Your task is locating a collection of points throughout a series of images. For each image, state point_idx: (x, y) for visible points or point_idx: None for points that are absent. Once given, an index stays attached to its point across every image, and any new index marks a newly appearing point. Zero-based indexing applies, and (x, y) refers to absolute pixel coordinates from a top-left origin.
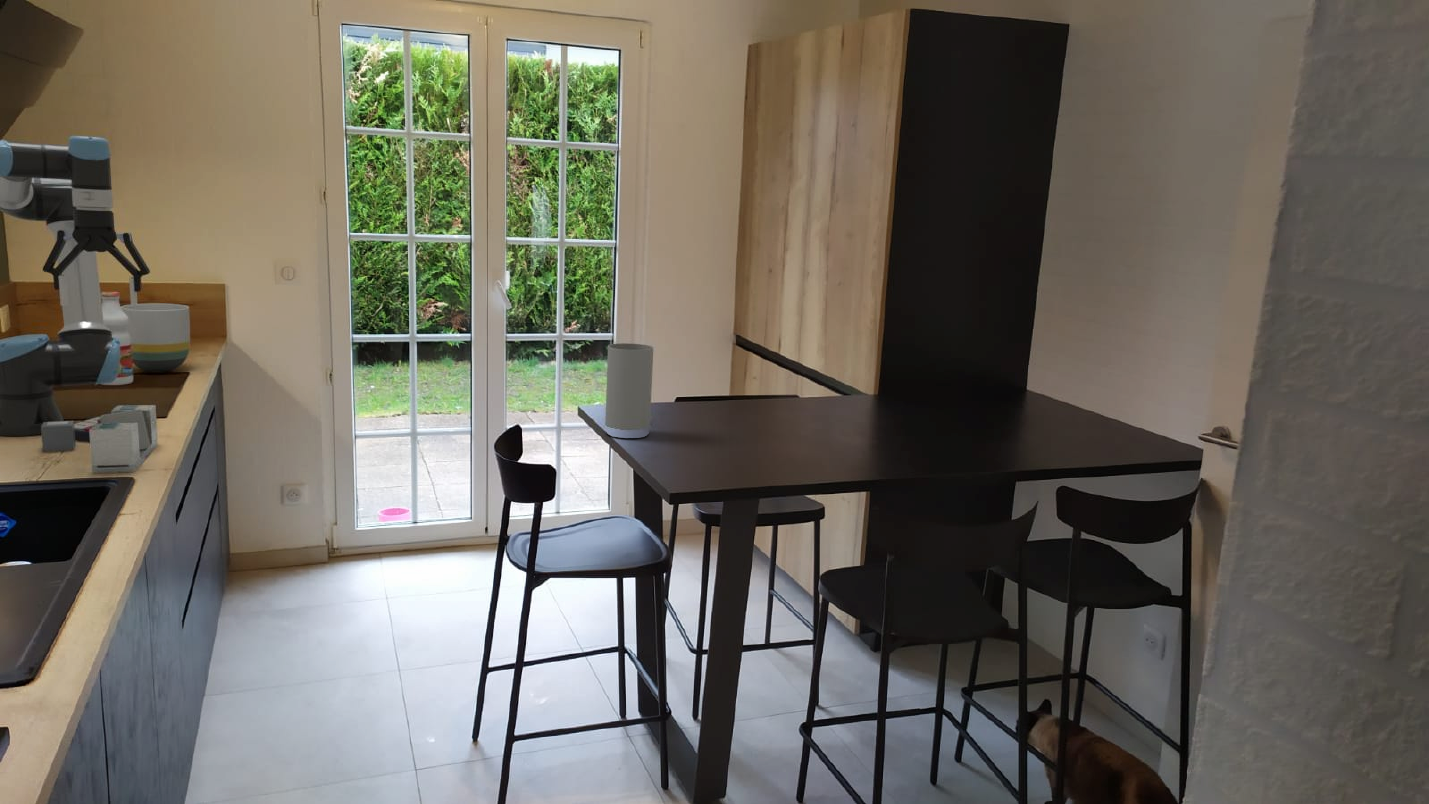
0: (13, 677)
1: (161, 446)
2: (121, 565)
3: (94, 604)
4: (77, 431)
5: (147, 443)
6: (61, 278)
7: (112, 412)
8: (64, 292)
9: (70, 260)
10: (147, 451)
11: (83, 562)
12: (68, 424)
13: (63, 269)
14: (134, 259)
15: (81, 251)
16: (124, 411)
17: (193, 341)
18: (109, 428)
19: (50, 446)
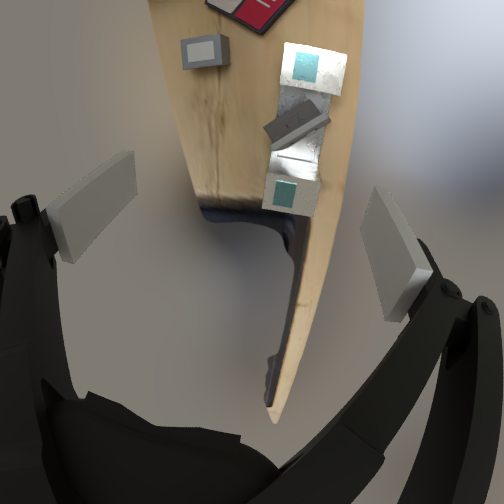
0: (266, 404)
1: None
2: (295, 364)
3: (285, 385)
4: (225, 14)
5: (328, 123)
6: (77, 255)
7: (281, 84)
8: (112, 209)
9: (60, 333)
10: None
11: (278, 357)
12: (216, 56)
13: (50, 267)
14: (433, 413)
15: (45, 366)
16: (303, 127)
17: None
18: (286, 206)
19: (202, 67)
